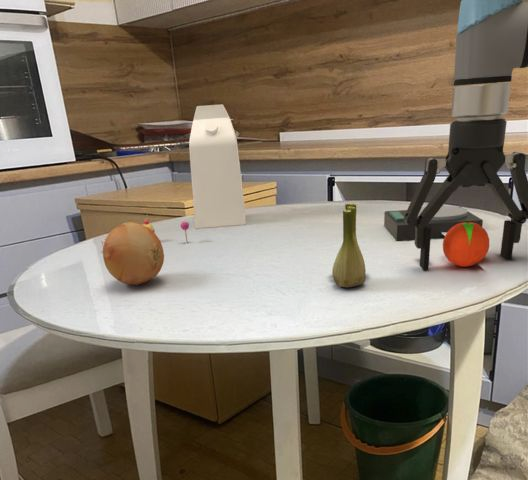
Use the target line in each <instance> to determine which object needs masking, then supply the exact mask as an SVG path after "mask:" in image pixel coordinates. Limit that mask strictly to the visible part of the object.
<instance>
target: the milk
mask: <svg viewBox="0 0 528 480" xmlns="http://www.w3.org/2000/svg"><path fill="white" fill-rule="evenodd" d="M188 146H189V147H188V148H189V165H190V177H191V191H192V192H191V193H192V204H193V219H194V220H193V221H194V229H205V228H217V227H218V228H219V227H233V226H246V225H247V213H246V212H247V211H246V204H245V203H246V202H245V195H244V188H243V181H242V180H243V178H242V172H241V163H240V154H239V147H238V139H237V134H236V131H235V129H234V126H233V122H232V120H231V117H230V115H229V113H228V111H227V109H226V107H225V106H224V103H223V104H209V105H197V106H196V107H195V112H194V115H193V120H192V125H191V128H190V134H189V142H188Z"/></svg>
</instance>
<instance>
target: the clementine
mask: <svg viewBox="0 0 528 480" xmlns="http://www.w3.org/2000/svg"><path fill="white" fill-rule="evenodd" d="M444 236H445V237H444V238H443V242H442V251H443V254H444V257H445V258H446V259H447V260H448V261H449V262H450V263H451V264H452V265H455V266H457V267H462V268H467V267H468V268H469V267H472V266H475V265H477V264H478V263H480V262H481V261H482V260H483V259H484V258H485V257H486V256H487V254H488V252H489V249H490V237H489V233H488V232H487V231H486V229H485V228H484V227H483V226H482V227H481V226H480V225H478V224H477V223H472V222H469V221H468V222H463V223H459V224H457V225H455V226H454V227H452V228H451V229H450V230H449V231H448V232H446V233H445V234H444Z"/></svg>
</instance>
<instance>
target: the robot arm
mask: <svg viewBox="0 0 528 480" xmlns="http://www.w3.org/2000/svg"><path fill="white" fill-rule="evenodd" d="M455 41H456V42H455V55H454V69H453V70H454V71H453V72H454V73H453V88H452V99H451V100H452V101H451V102H452V103H451V111H450V112H451V113H450V115H451V117H452V118H454V120H452V121H451V123H450V124H449V136H448V150H447V154H446V156H445V158H433V157H427V158H426V159H425V162H424V170H423V175H422V177H421V179H420V181H419V184H418V185H417V188H416V190H415V192H414V194H413V196H412V198H411V200H410V202H409V205H408V207H407V209H406V210H407V211H406V214H405V216H404V221H405V222H406V223H407V224H408V225H412V226H415V240H414V245H415V247H416V248H417V250H419V249H420V252H419V267H420V268H421V269H422V270H423V271H429V270H430V269H429V268H430V267H429V266H430V252H431V241H432V239H431V228H430V227H428V226H427V225H428V223H429V222H430V221H431V220H432V218H433V217H434V216H435V214H436V213H437V212H438V211H439V209H440V208H441V207H442V206H444V205H445V204H446V202H447V201H448V199H450V197H451V195H452V194H453V193H454V192H456V191H457V190H458V188H459V187H461V188H470V187H473V186H476V187H486V185H487V186H488V187H489V188H490V190H491V191H492V193H493V194H494V196H495V197H496V198H497V200H498V202H499V203H500V205H501V206H502V208H503V209H504V211H505V212H506V214H507V215H508V217H509V218H510V219H507V220H505V219H504V223H503V228H502V237H501V245H500V254H499V256H500V257H501V258H503V259H504V260H506V261H511V260H513V259H512V258H513V252H514V245H515V244H518V243H519V242H520V240H521V234H522V228H523V224H525V223H526V222H527V220H528V176H527V173H526V170H525V169H526V154H525V153H523V152H519V151H513V152H512V153H508V154H505V153H504V146H505V140H506V139H505V138H506V132H507V131H506V130H507V120H506V118H503V117H504V116H505V115H507V114H508V113H509V106H510V98H511V97H510V96H511V87H512V85H511V84H512V78H513V75H512V74H513V70H514V69H526V68H528V1H523V0H461V1H460V4H459V13H458V20H457V30H456V40H455ZM504 165H505V166H506V168H507V169H509V172H510V177H511V179H512V183H513V186H514V189H515V191H516V196H517V200H518V202H519V206H520V208H519V207H518V204H516V202H515V201H514V199H513V197H512V196H511V194H510V192H508V189H507V188H506V187H505V185H504V183H503V181H502V179H501V177H500V176H499V175H498V172H499V171H500V170H501V169H502V167H503V166H504ZM443 168H445V169H446V171H447V172H448V176H447V177H446V178H445V180H444V181H443V182H442V185H441V186H440V187H439V189H438V190H437V191H436V193H435V194H434V195H433V197H431V199H430V201H428V203H427V204H426V206H423V205H424V203H425V201H426V200H427V197H428V195H429V193H430V191H431V188H432V187H433V184H434V183H435V180H436V177H437V175H438V174H440V173H441V171H442V169H443ZM422 207H425V208H424V210H423V211H422V212H421V214H420V215H419V216H418V214H419V212H420V210H421V208H422ZM417 216H418V217H417Z"/></svg>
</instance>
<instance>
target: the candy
mask: <svg viewBox="0 0 528 480" xmlns="http://www.w3.org/2000/svg"><path fill="white" fill-rule="evenodd" d="M148 214H149V213H146V217H145V219H144V220H143V225H144V226H146V227H147V228H149V229H150V230H152V231H153V232H154V233H155V234H156V231H155V227H154V225H153V224H151V223H150V221H149V219H148ZM189 228H190V224H189V223H188V221H182V222H181V223H180V229H182V230H183V231H184V235H185V243H189V242H188V233H187V231H188V230H189ZM105 240H106V238H103V237H101V238H100V243H101V246H102V248H103V246H104V243H105Z"/></svg>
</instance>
